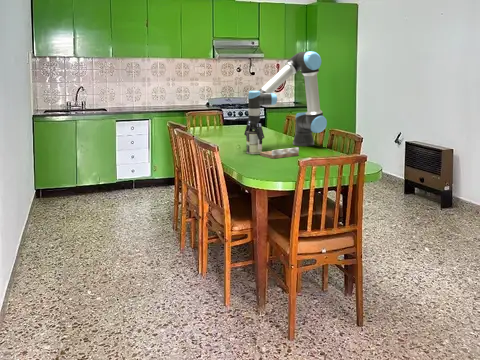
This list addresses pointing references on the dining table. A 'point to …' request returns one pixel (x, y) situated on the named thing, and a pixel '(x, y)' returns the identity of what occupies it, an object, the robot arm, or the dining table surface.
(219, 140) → the dining table surface
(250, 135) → the coffee can
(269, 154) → the shelf board
